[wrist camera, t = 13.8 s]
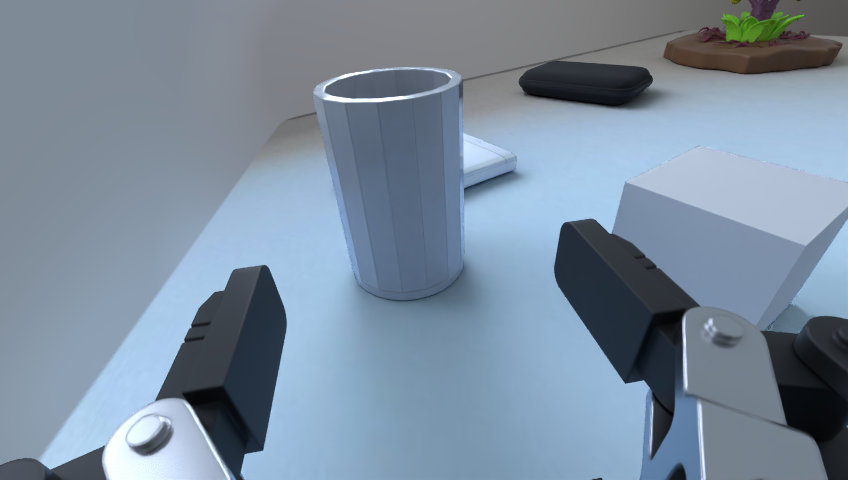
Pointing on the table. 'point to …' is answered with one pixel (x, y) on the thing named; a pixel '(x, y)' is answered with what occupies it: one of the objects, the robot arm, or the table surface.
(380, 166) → the pot
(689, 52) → the plant
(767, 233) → the white cube
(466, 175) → the hard drive
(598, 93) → the carrying case
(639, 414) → the table surface
